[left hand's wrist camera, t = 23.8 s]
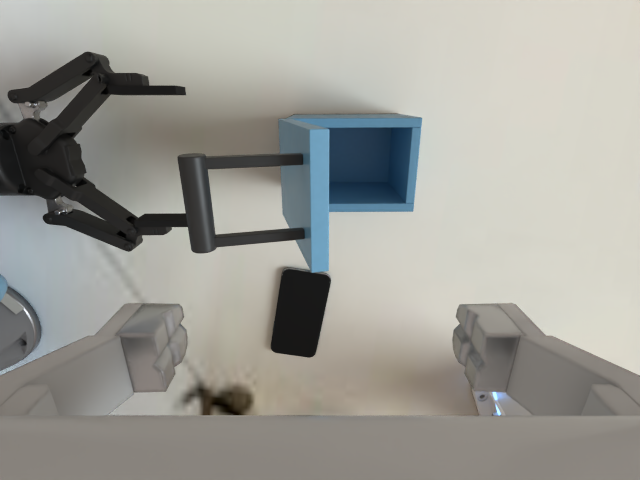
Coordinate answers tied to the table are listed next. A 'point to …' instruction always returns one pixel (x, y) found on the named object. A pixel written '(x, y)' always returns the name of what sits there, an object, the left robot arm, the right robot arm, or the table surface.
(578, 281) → the table surface
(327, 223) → the lid
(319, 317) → the smartphone
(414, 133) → the chest
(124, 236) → the right robot arm
